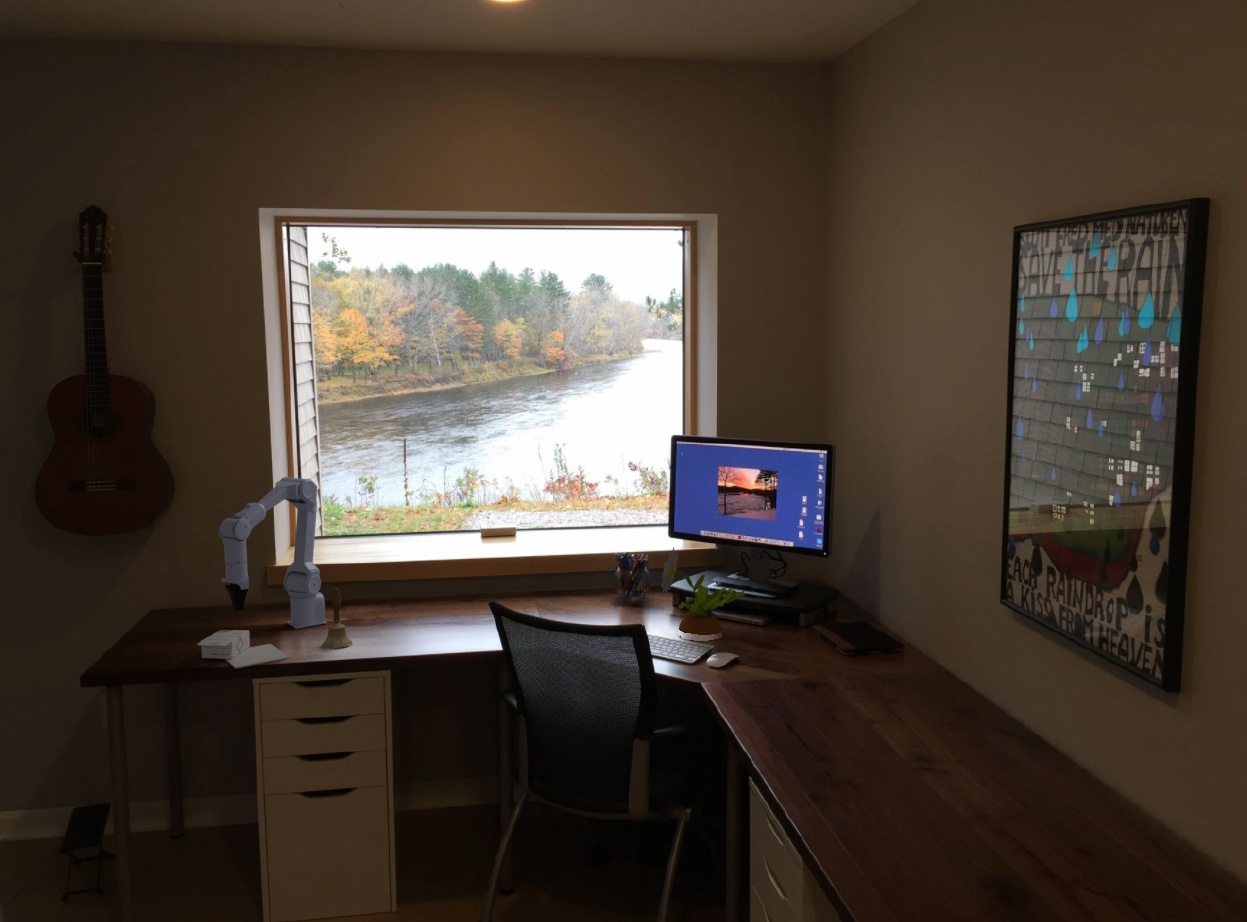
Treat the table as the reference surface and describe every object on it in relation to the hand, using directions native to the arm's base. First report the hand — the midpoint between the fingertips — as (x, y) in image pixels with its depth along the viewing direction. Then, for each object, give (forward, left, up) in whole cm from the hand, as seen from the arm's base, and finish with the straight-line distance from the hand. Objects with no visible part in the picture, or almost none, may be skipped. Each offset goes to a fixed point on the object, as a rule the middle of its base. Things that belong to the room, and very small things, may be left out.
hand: (238, 609), depth 291 cm
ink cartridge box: (+1, 0, -8) cm, 8 cm away
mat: (0, +11, -10) cm, 16 cm away
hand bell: (-22, +15, -11) cm, 29 cm away
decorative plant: (-108, +71, -11) cm, 130 cm away
